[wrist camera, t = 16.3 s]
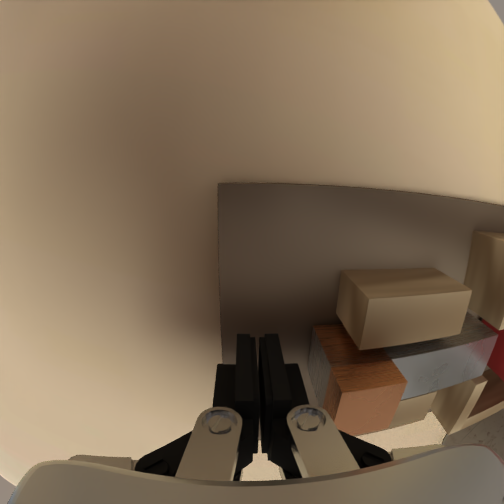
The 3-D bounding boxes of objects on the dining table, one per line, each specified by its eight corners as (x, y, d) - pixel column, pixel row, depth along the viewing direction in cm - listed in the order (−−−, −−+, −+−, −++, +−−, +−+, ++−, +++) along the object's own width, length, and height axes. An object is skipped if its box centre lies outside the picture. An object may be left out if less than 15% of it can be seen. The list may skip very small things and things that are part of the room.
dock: (220, 183, 12) (206, 187, 7) (549, 215, 12) (589, 228, 8) (228, 428, 15) (226, 487, 11) (505, 372, 16) (532, 399, 12)
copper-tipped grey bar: (312, 325, 12) (342, 393, 8) (465, 309, 12) (515, 348, 8) (307, 369, 13) (328, 439, 8) (453, 347, 13) (496, 389, 9)
